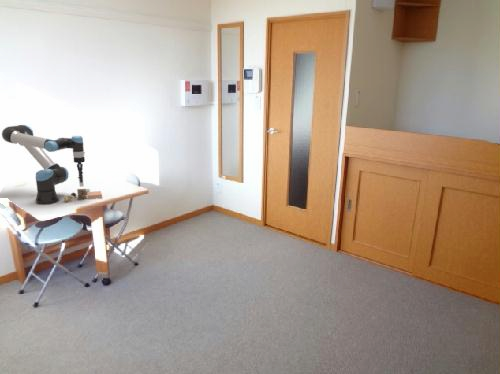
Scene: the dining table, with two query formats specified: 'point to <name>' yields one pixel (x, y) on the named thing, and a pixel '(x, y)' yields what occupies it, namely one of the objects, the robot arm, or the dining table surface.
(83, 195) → the walnut block
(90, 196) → the terracotta stand
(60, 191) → the dining table surface
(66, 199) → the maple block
